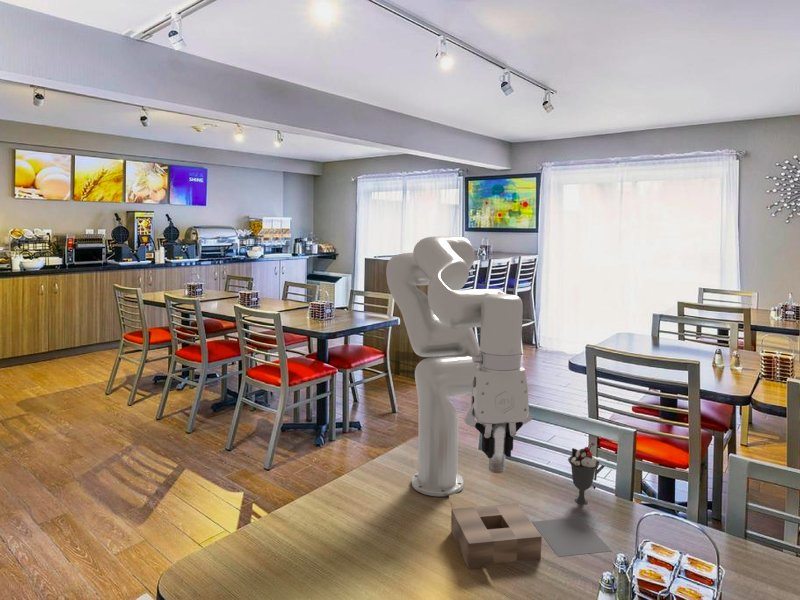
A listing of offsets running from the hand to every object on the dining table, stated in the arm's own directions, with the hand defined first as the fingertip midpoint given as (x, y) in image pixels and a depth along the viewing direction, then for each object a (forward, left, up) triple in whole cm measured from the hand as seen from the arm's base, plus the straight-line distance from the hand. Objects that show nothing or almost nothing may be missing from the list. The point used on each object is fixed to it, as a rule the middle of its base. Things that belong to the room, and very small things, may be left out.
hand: (497, 453), depth 100 cm
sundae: (-12, +25, -19) cm, 34 cm away
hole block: (0, 0, -19) cm, 19 cm away
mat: (0, +16, -19) cm, 25 cm away
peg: (0, 0, -3) cm, 3 cm away
